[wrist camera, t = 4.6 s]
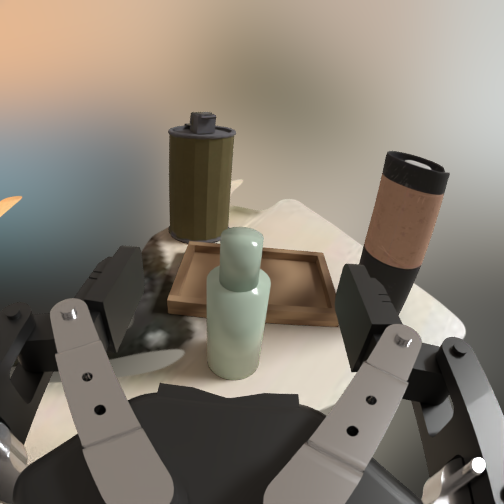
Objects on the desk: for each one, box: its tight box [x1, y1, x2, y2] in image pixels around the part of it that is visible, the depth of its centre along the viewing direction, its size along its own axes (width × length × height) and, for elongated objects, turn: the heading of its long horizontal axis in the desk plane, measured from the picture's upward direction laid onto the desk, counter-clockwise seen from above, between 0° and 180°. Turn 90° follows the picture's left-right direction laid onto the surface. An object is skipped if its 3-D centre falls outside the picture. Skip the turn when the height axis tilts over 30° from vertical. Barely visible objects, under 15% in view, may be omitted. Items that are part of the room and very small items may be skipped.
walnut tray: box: [167, 241, 339, 327], centre depth 42 cm, size 20×14×2 cm
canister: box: [168, 112, 236, 243], centre depth 50 cm, size 11×10×20 cm
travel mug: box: [359, 151, 450, 315], centre depth 35 cm, size 8×8×20 cm
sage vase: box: [207, 227, 271, 380], centre depth 28 cm, size 5×5×14 cm
